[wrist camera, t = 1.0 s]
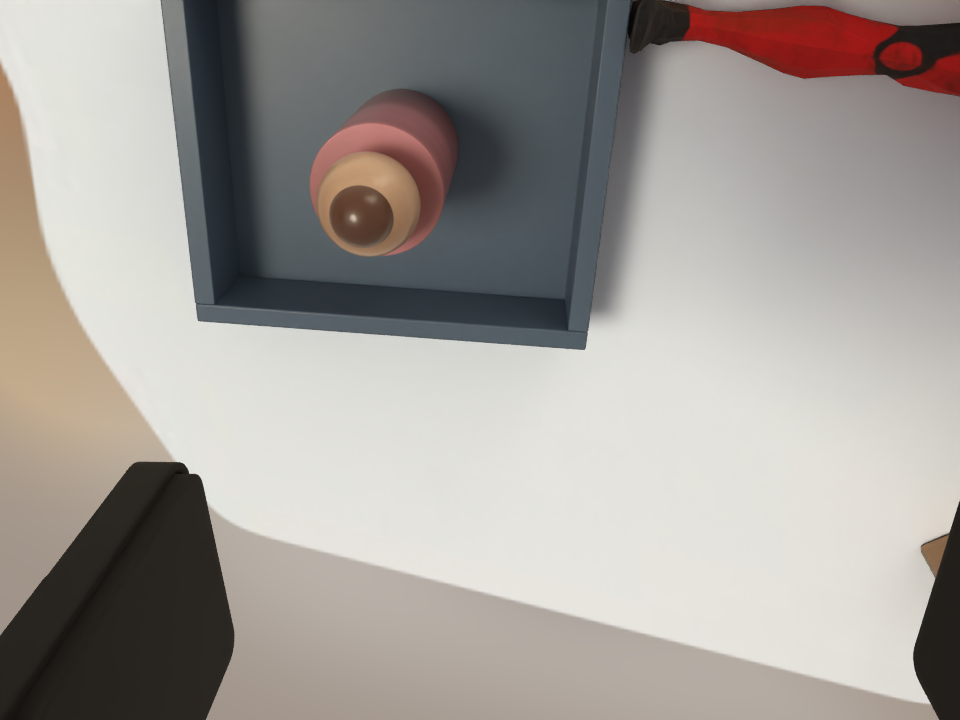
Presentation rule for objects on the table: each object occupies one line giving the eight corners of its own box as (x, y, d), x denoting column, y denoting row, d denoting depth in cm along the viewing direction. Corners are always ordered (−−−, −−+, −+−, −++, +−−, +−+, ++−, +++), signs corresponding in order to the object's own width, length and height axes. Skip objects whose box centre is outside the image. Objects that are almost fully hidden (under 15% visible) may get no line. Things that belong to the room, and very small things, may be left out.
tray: (194, -59, 30) (153, -59, 26) (623, -32, 29) (635, -28, 26) (227, 286, 36) (197, 321, 33) (580, 312, 36) (585, 350, 32)
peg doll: (347, 85, 31) (276, 142, 22) (461, 93, 31) (435, 153, 22) (349, 197, 33) (285, 290, 24) (456, 204, 33) (430, 300, 24)
